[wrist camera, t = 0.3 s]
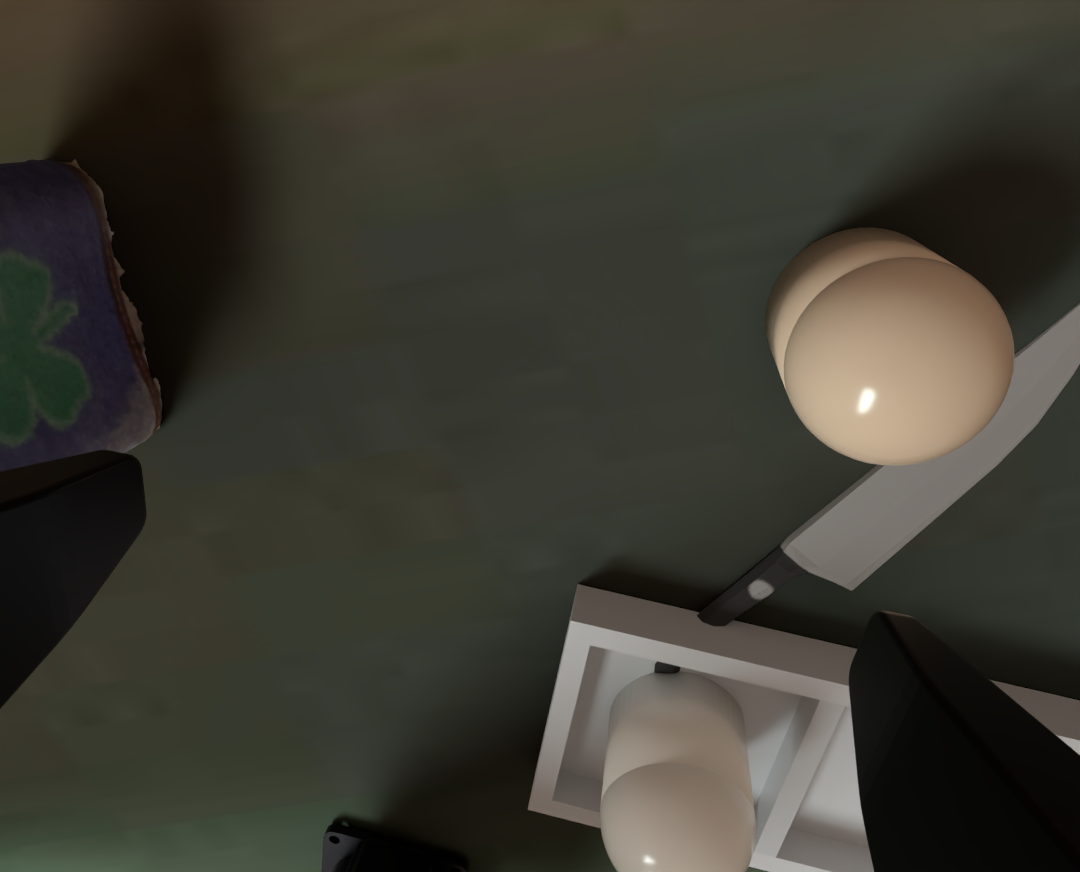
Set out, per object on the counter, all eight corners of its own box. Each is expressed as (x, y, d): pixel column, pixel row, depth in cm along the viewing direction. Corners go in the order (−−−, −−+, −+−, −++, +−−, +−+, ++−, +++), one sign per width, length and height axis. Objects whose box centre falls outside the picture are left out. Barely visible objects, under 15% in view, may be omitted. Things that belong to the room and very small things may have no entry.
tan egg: (909, 411, 22) (993, 525, 16) (744, 377, 22) (769, 476, 16) (977, 246, 20) (1102, 310, 14) (794, 211, 20) (843, 259, 14)
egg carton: (1206, 935, 28) (1242, 993, 26) (536, 766, 30) (527, 809, 28) (1360, 765, 24) (1415, 819, 22) (577, 583, 26) (570, 620, 24)
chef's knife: (1202, 320, 20) (1135, 247, 20) (1233, 334, 19) (1162, 258, 19) (697, 696, 28) (636, 653, 27) (699, 720, 27) (637, 676, 26)
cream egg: (724, 785, 28) (737, 963, 22) (598, 753, 28) (579, 921, 23) (761, 689, 26) (786, 859, 20) (624, 657, 26) (611, 814, 21)
